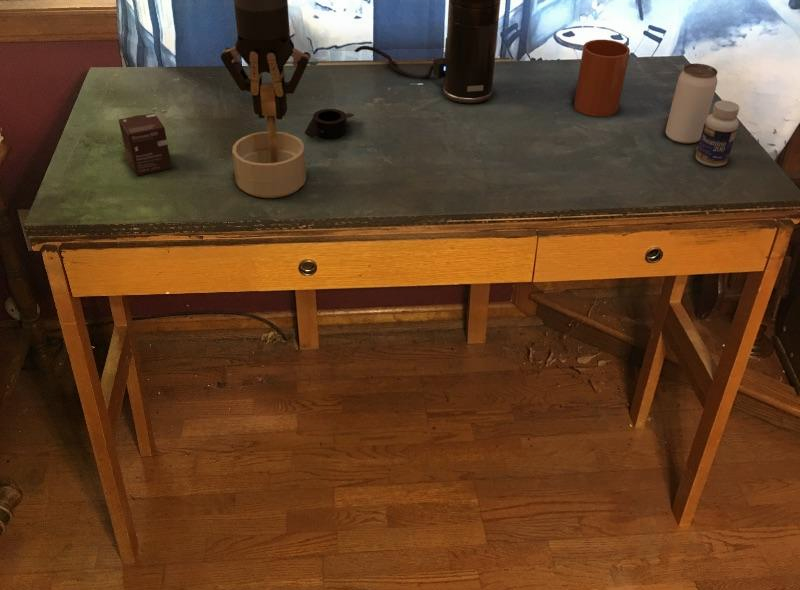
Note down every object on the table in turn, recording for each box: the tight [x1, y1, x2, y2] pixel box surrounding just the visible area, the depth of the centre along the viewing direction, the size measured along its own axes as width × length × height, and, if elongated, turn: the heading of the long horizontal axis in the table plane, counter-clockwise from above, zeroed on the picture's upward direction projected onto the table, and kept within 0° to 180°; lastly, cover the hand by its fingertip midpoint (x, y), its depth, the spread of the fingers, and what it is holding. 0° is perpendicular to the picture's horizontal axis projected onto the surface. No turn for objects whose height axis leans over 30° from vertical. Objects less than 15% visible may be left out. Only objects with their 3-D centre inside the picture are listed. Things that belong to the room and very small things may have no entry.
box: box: [118, 112, 172, 176], centre depth 140 cm, size 6×6×7 cm
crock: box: [573, 39, 631, 117], centre depth 158 cm, size 8×8×11 cm
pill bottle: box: [695, 100, 740, 168], centre depth 144 cm, size 5×5×10 cm
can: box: [664, 63, 718, 145], centre depth 149 cm, size 6×6×12 cm
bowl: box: [231, 131, 307, 199], centre depth 137 cm, size 11×11×6 cm
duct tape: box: [304, 108, 355, 140], centre depth 151 cm, size 8×10×3 cm
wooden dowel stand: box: [260, 81, 278, 163], centre depth 134 cm, size 4×4×15 cm
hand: (271, 116), depth 133 cm, fingers closed on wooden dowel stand, 2 cm apart
